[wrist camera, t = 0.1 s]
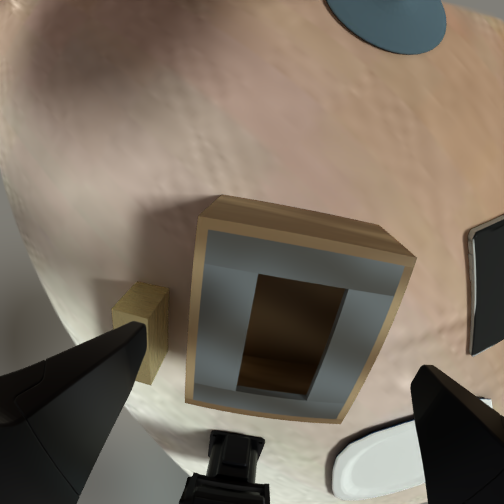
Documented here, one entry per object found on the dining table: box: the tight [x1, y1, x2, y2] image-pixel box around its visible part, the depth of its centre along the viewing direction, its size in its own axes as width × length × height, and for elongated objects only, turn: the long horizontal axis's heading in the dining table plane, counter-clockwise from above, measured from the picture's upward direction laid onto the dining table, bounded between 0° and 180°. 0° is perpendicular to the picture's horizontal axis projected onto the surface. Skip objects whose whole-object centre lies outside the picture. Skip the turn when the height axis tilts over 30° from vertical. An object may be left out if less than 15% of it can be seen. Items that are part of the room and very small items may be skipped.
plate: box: [332, 398, 493, 500], centre depth 32 cm, size 25×25×2 cm
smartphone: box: [468, 215, 504, 357], centre depth 22 cm, size 8×1×15 cm
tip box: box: [185, 195, 417, 424], centre depth 21 cm, size 14×12×7 cm
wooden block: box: [111, 281, 169, 385], centre depth 24 cm, size 7×3×5 cm, turn 171°
